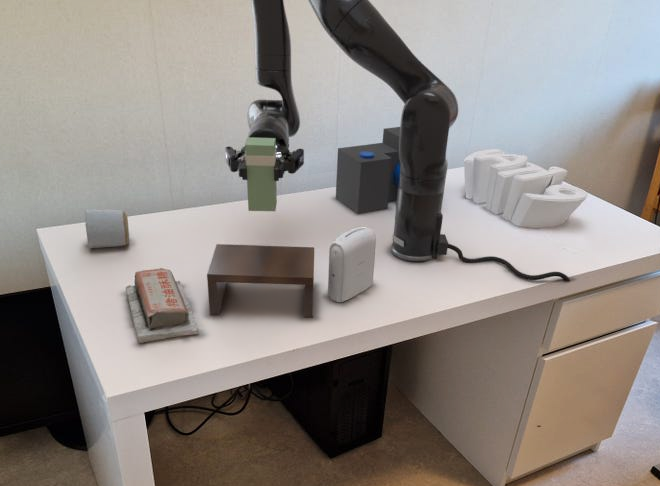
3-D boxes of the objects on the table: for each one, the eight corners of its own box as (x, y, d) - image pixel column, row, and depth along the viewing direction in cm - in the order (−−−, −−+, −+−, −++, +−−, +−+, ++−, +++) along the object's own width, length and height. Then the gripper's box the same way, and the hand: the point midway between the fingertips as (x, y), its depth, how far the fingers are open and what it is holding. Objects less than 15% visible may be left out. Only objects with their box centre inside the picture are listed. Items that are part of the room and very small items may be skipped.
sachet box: (277, 202, 114) (275, 137, 108) (275, 211, 111) (274, 145, 104) (250, 201, 114) (247, 137, 108) (248, 211, 111) (245, 144, 104)
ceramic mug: (131, 251, 135) (126, 215, 131) (89, 254, 133) (82, 218, 129) (129, 231, 144) (124, 196, 140) (90, 233, 142) (83, 199, 138)
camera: (369, 222, 153) (374, 154, 144) (335, 198, 164) (338, 133, 155) (455, 206, 163) (465, 141, 154) (418, 185, 175) (425, 123, 166)
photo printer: (341, 305, 121) (345, 243, 114) (324, 297, 123) (326, 235, 116) (375, 286, 128) (381, 226, 121) (358, 278, 130) (362, 219, 123)
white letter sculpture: (446, 186, 175) (452, 146, 169) (496, 179, 181) (503, 140, 175) (533, 238, 149) (543, 193, 143) (588, 228, 156) (600, 184, 150)
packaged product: (122, 269, 118) (178, 262, 122) (125, 293, 121) (180, 286, 124) (134, 319, 105) (197, 310, 108) (138, 345, 108) (199, 335, 111)
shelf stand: (313, 285, 127) (314, 247, 122) (312, 317, 117) (313, 277, 112) (218, 282, 126) (216, 243, 122) (210, 315, 116) (206, 274, 112)
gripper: (227, 120, 118) (213, 149, 104) (307, 122, 118) (305, 152, 104) (229, 162, 122) (217, 196, 108) (307, 164, 123) (304, 198, 109)
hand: (260, 174), depth 106 cm, fingers closed on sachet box, 4 cm apart
